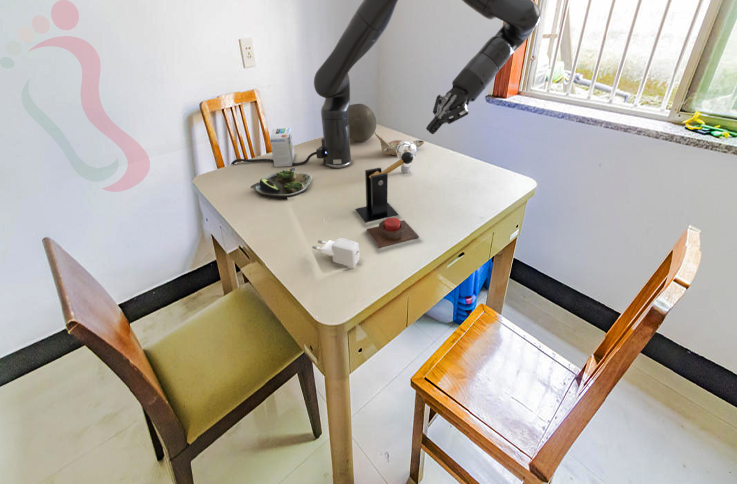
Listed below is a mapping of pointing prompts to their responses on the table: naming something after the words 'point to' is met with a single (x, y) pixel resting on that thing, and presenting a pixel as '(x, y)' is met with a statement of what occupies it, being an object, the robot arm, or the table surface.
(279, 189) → the salad plate
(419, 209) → the table surface
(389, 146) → the oil lamp
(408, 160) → the lever
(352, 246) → the power adapter
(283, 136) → the light bulb box
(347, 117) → the robot arm
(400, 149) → the light bulb
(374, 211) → the switch bracket
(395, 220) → the button
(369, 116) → the cantaloupe
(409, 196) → the table surface
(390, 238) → the button block
